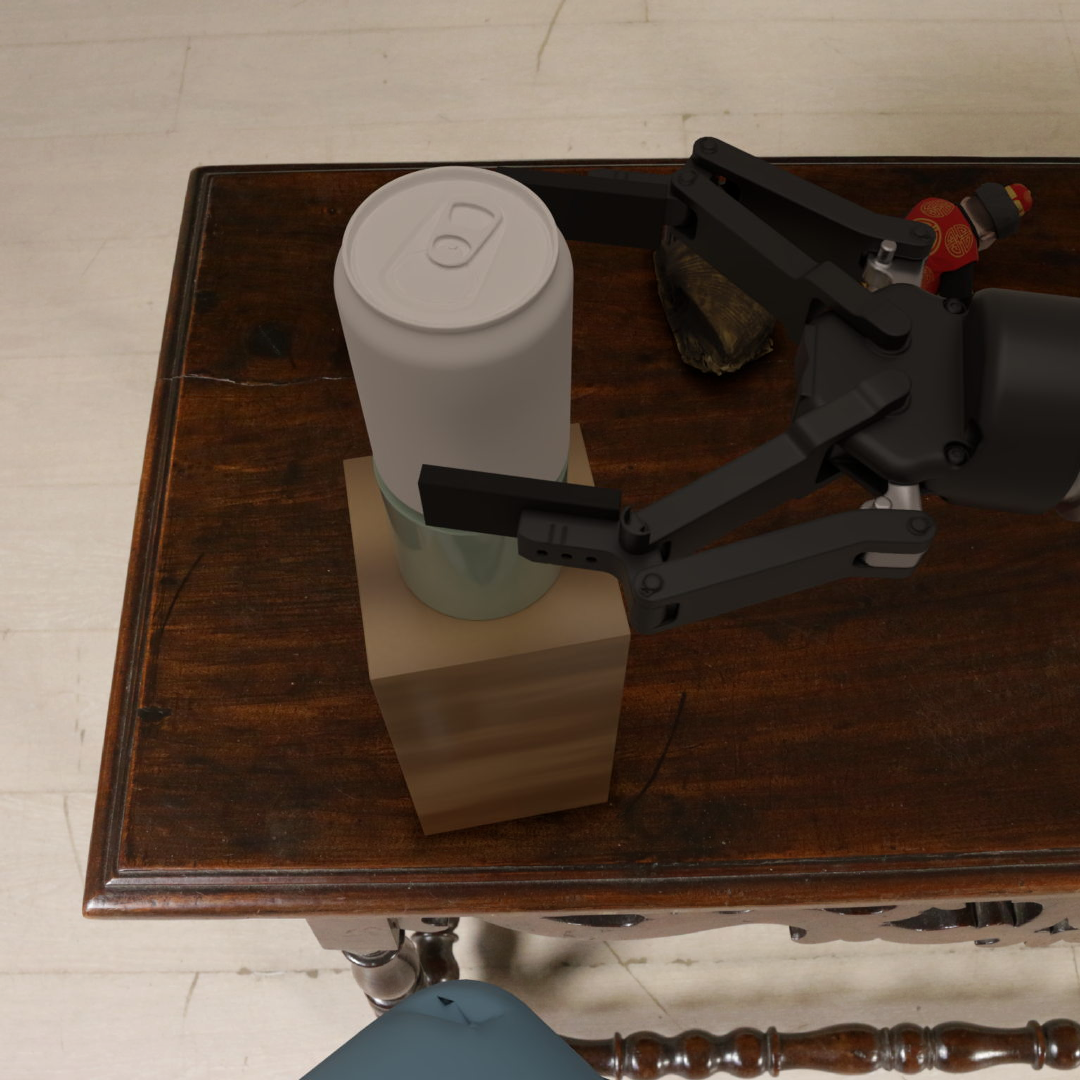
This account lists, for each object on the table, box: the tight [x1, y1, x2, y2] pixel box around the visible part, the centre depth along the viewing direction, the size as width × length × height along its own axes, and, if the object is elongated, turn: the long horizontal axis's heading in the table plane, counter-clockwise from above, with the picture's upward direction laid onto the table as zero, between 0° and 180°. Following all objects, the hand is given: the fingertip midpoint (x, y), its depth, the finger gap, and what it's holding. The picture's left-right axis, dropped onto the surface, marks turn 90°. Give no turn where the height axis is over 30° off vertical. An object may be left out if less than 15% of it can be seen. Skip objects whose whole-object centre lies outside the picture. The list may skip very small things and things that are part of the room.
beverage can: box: [333, 165, 574, 515], centre depth 43 cm, size 8×8×12 cm
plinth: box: [342, 422, 632, 837], centre depth 67 cm, size 12×12×26 cm
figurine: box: [858, 181, 1033, 299], centre depth 93 cm, size 10×10×15 cm
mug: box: [373, 450, 569, 620], centre depth 53 cm, size 12×8×8 cm
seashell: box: [652, 236, 777, 376], centre depth 93 cm, size 16×9×7 cm, turn 14°
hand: (462, 335), depth 42 cm, fingers open, 13 cm apart
